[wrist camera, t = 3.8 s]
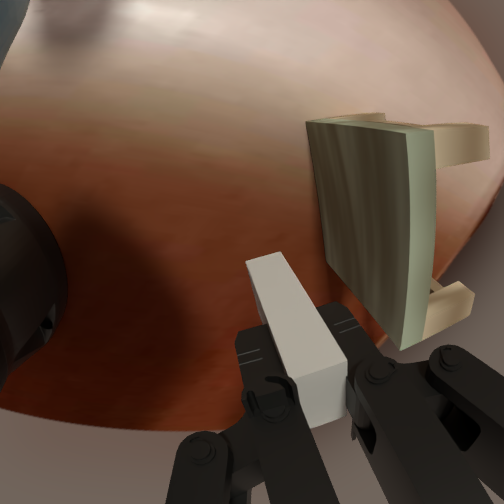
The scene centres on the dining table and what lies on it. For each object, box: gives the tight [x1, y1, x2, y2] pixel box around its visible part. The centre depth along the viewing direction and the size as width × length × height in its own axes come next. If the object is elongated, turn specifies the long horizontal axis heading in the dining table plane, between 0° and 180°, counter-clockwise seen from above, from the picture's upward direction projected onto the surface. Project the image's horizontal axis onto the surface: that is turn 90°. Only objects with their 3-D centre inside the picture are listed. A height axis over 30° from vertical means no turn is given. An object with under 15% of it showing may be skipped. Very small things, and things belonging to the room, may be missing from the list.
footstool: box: [306, 112, 490, 351], centre depth 17 cm, size 6×11×11 cm, turn 12°
